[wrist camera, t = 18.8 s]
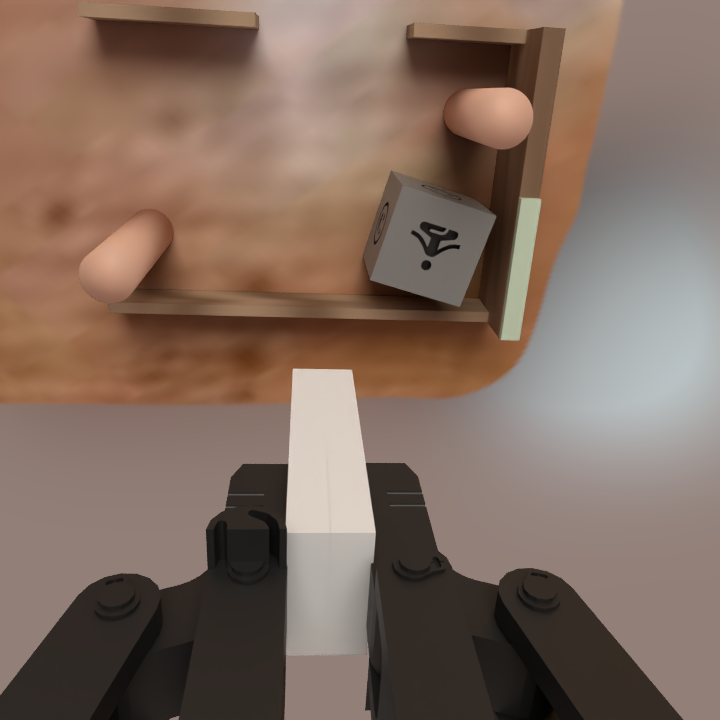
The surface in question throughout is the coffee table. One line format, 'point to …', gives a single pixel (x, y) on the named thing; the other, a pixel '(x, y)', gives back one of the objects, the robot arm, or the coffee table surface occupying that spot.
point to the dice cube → (426, 239)
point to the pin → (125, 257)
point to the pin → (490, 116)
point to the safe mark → (519, 267)
